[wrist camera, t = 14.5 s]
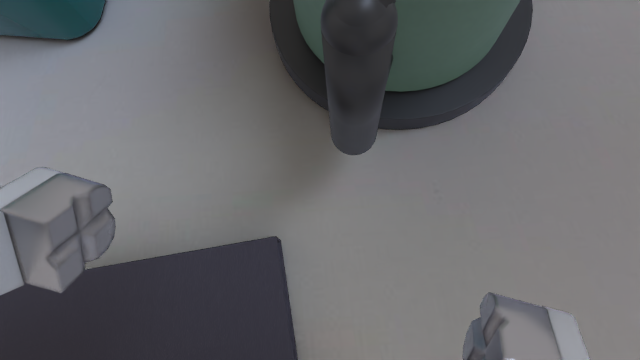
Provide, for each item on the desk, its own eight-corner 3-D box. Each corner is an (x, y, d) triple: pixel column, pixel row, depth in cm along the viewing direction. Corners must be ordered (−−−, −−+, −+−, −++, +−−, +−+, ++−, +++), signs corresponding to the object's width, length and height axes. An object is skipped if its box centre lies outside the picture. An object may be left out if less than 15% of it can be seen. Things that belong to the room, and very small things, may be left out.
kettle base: (472, -110, 28) (479, -132, 27) (562, 91, 24) (576, 79, 23) (251, -53, 28) (246, -71, 27) (305, 158, 24) (303, 150, 23)
